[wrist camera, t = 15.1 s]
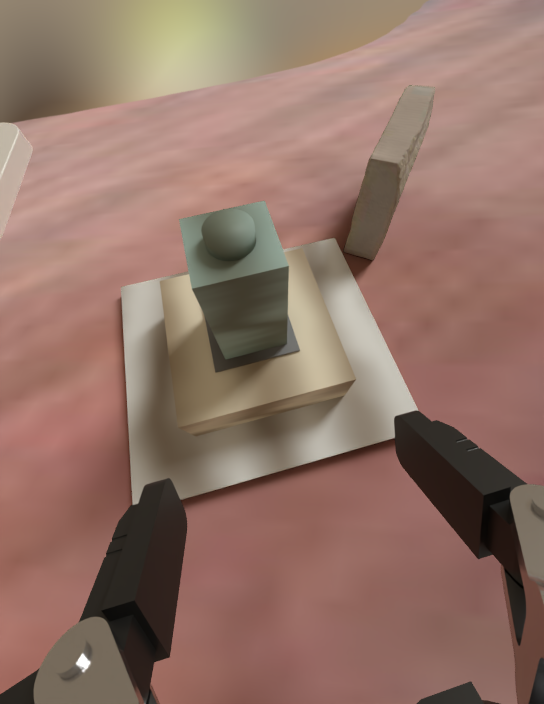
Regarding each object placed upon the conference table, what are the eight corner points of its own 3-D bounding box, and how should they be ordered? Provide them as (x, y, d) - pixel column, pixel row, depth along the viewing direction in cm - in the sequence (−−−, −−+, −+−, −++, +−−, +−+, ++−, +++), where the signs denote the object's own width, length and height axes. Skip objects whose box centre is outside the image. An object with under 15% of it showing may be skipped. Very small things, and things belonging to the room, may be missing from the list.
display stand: (333, 245, 30) (342, 201, 26) (421, 430, 22) (458, 416, 18) (126, 293, 29) (95, 256, 24) (139, 512, 21) (97, 521, 16)
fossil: (373, 181, 34) (403, 80, 26) (402, 188, 34) (444, 87, 25) (341, 252, 30) (364, 160, 21) (374, 263, 29) (412, 171, 21)
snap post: (270, 294, 22) (263, 185, 14) (286, 343, 20) (289, 252, 12) (214, 307, 22) (173, 205, 14) (225, 359, 20) (186, 276, 12)
